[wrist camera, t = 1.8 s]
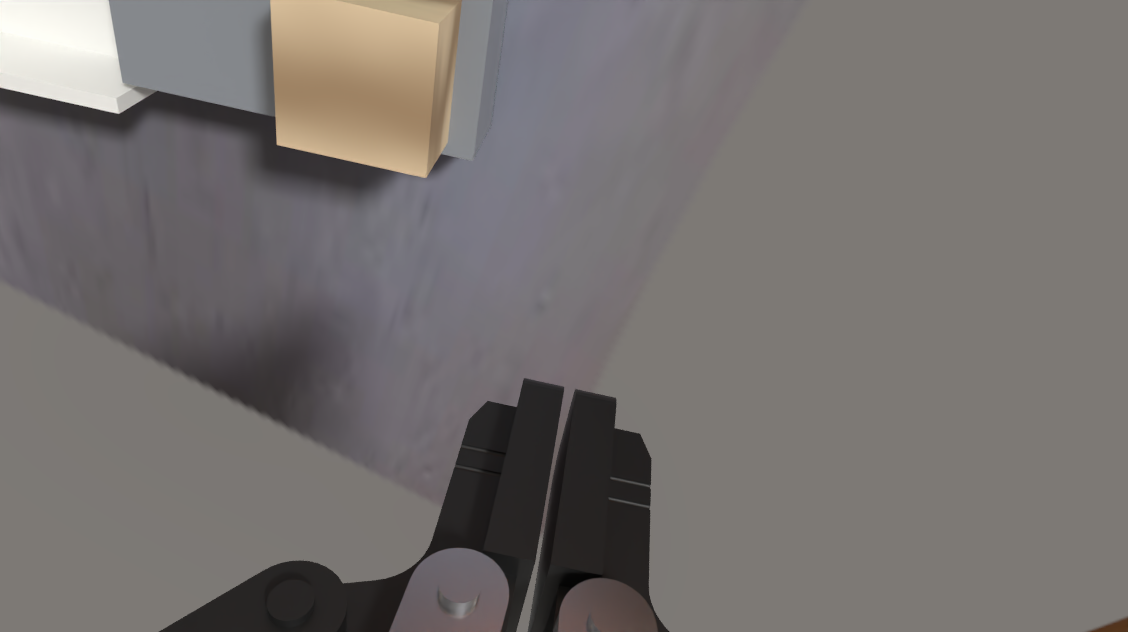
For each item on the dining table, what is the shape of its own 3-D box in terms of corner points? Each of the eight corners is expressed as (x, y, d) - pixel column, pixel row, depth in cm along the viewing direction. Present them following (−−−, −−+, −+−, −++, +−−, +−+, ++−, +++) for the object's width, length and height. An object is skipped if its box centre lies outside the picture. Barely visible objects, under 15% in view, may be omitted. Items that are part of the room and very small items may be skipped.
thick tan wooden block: (309, -36, 24) (269, -15, 22) (462, -1, 24) (439, 23, 22) (312, 112, 27) (276, 144, 24) (447, 142, 27) (425, 177, 25)
